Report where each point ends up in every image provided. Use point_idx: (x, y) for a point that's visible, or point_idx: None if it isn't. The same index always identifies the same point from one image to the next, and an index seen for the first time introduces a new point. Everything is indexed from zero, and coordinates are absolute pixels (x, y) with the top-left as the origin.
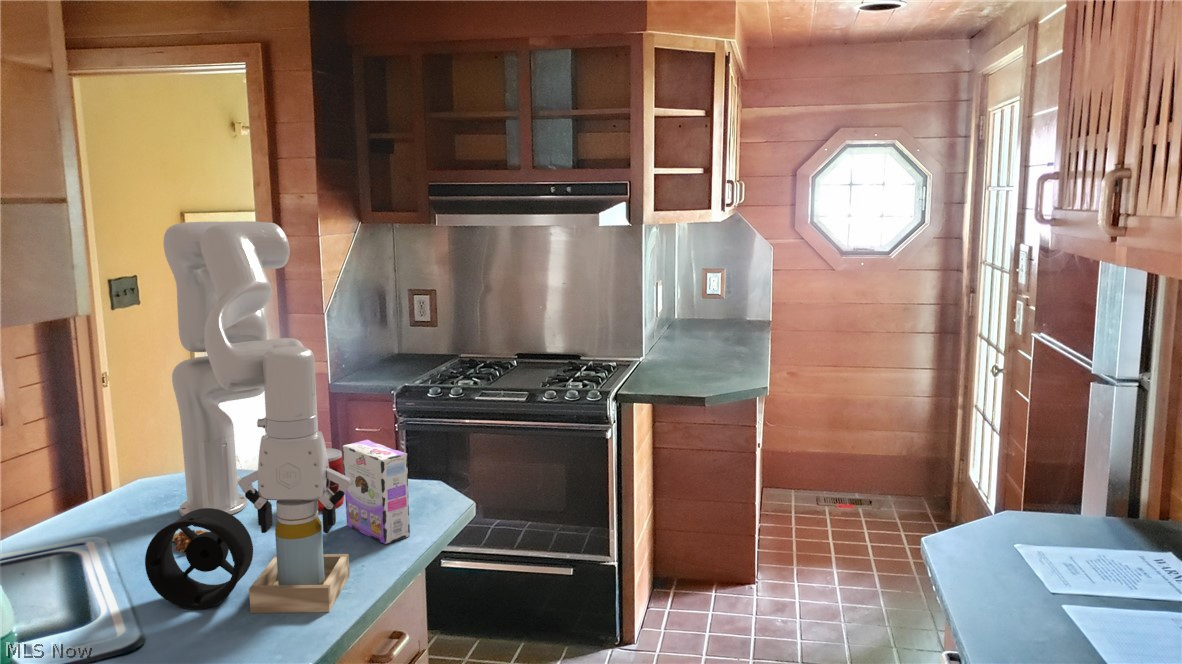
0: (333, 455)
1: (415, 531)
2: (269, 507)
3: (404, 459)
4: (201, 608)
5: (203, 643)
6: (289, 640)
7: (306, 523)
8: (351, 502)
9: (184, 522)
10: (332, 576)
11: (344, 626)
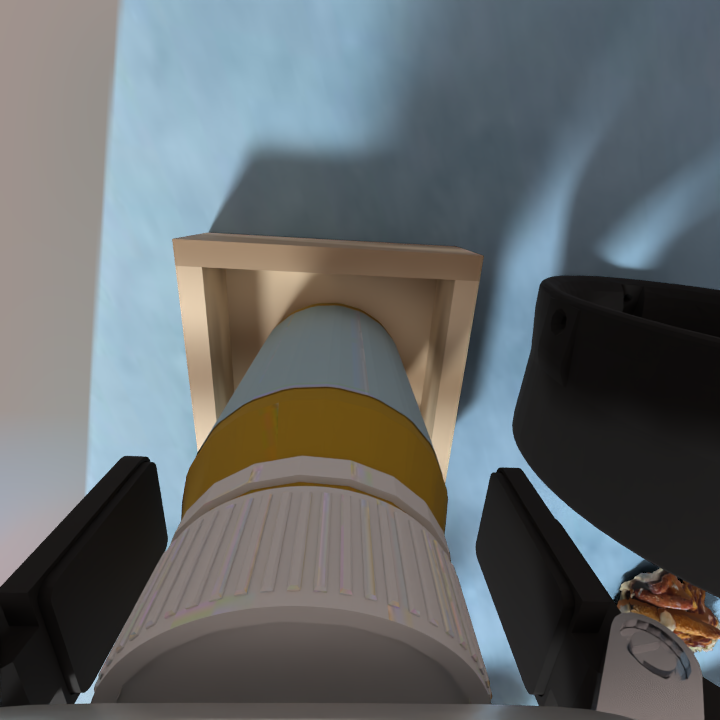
0: None
1: None
2: (532, 651)
3: None
4: (608, 277)
5: (569, 39)
6: (277, 29)
7: (217, 483)
8: None
9: None
10: (192, 334)
11: (117, 123)
